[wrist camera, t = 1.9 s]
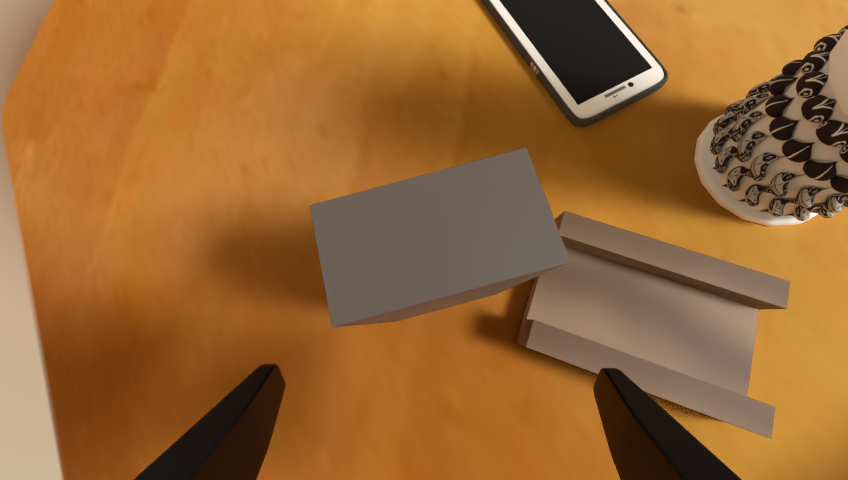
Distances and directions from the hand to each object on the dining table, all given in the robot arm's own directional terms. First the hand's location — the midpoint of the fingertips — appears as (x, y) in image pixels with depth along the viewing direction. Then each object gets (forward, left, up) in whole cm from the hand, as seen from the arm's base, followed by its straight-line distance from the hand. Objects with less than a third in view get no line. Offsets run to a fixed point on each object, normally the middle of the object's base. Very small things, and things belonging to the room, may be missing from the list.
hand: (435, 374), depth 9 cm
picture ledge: (-1, -12, -11) cm, 16 cm away
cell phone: (+19, -16, -11) cm, 27 cm away
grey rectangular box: (+4, -1, -11) cm, 12 cm away
